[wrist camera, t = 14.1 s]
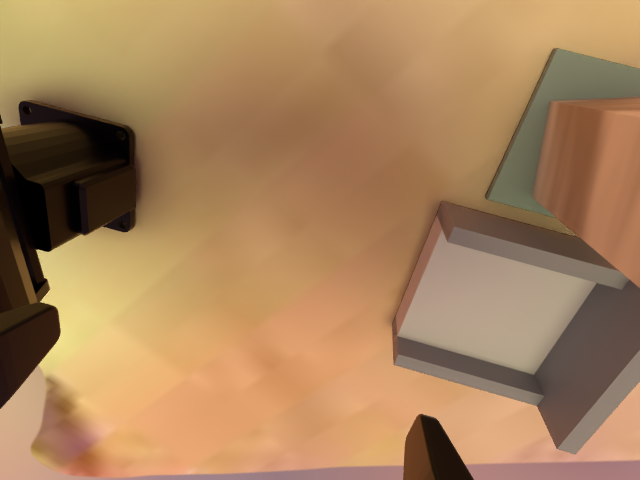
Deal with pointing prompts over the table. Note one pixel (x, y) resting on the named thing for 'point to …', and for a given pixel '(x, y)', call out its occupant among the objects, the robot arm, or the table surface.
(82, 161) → the robot arm
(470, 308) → the tray
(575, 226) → the birch block
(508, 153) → the mat
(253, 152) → the table surface
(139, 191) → the table surface
